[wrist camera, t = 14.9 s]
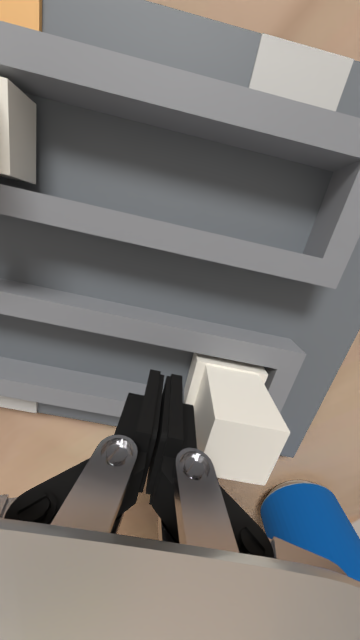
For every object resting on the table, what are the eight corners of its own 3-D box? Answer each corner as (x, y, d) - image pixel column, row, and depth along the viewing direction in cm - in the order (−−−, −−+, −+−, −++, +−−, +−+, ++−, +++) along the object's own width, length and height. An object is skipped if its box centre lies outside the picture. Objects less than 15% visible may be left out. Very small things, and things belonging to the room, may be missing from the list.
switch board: (450, 110, 11) (546, 64, 8) (286, 444, 19) (306, 484, 16) (-211, -75, 10) (-389, -217, 7) (-106, 373, 17) (-168, 403, 14)
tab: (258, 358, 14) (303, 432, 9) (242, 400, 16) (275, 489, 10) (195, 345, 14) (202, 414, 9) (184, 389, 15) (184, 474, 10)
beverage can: (338, 512, 21) (511, 820, 10) (270, 529, 22) (358, 828, 11) (321, 464, 19) (513, 781, 8) (247, 486, 20) (327, 795, 9)
